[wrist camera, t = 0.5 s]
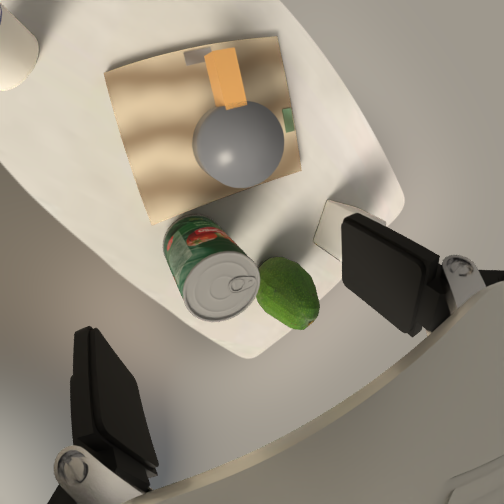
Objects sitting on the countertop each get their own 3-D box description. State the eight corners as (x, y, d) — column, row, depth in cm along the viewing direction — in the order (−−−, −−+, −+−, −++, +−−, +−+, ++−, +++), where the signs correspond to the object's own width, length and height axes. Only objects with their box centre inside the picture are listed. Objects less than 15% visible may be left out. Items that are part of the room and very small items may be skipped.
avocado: (237, 293, 43) (276, 346, 34) (251, 245, 41) (299, 290, 31) (281, 294, 47) (324, 340, 38) (297, 250, 45) (348, 290, 35)
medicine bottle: (311, 242, 45) (364, 279, 36) (326, 198, 43) (384, 227, 33) (342, 246, 49) (393, 279, 39) (356, 207, 46) (412, 234, 37)
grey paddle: (274, 167, 31) (290, 173, 28) (204, 191, 28) (214, 200, 26) (250, 49, 24) (265, 43, 21) (170, 64, 22) (177, 58, 19)
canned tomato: (166, 276, 37) (187, 330, 28) (159, 219, 34) (178, 261, 25) (223, 265, 40) (259, 311, 31) (222, 209, 37) (262, 245, 28)
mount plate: (104, 75, 24) (101, 66, 19) (270, 38, 29) (295, 29, 24) (150, 221, 33) (156, 239, 29) (295, 168, 38) (320, 177, 34)
